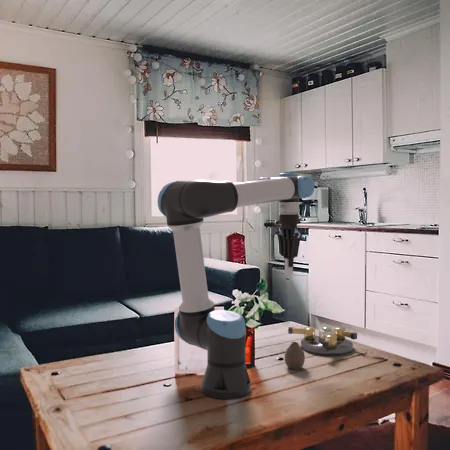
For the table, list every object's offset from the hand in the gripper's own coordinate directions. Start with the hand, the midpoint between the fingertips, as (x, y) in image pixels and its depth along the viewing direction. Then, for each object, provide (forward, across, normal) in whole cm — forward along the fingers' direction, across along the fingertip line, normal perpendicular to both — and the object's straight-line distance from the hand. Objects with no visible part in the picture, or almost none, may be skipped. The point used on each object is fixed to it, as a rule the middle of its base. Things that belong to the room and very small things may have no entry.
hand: (288, 275), depth 182 cm
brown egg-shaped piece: (+30, +16, -10) cm, 35 cm away
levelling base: (+29, +5, +15) cm, 33 cm away
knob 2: (+27, +13, +9) cm, 31 cm away
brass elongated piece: (+27, +8, +22) cm, 36 cm away
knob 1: (+27, -3, +9) cm, 29 cm away
